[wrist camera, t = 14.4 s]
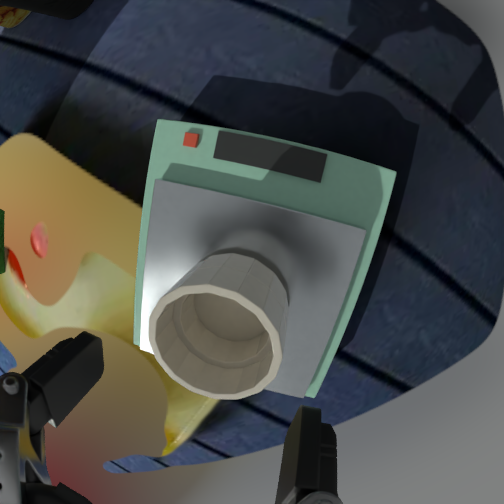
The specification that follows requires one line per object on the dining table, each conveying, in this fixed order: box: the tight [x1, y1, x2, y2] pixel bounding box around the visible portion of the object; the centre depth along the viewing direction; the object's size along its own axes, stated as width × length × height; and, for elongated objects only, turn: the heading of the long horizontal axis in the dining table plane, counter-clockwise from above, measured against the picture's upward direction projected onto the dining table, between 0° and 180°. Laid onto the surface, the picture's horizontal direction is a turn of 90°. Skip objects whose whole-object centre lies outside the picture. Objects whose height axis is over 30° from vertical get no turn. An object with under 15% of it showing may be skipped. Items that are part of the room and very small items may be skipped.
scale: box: [134, 119, 396, 398], centre depth 19 cm, size 14×16×3 cm
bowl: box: [148, 253, 289, 399], centre depth 15 cm, size 6×6×5 cm
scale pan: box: [140, 178, 367, 398], centre depth 18 cm, size 12×12×1 cm
